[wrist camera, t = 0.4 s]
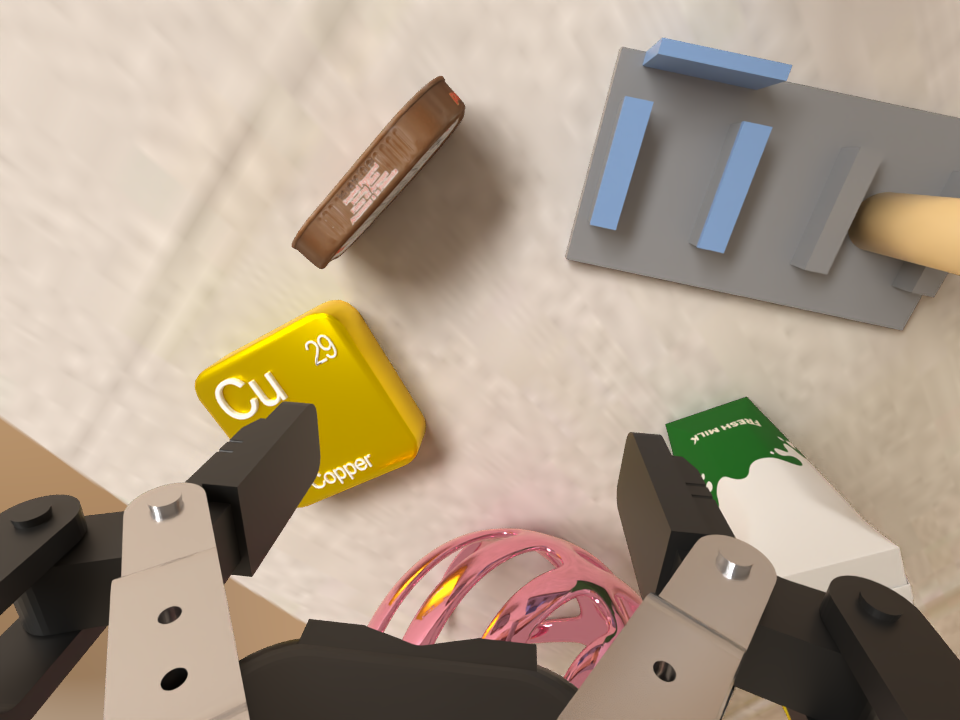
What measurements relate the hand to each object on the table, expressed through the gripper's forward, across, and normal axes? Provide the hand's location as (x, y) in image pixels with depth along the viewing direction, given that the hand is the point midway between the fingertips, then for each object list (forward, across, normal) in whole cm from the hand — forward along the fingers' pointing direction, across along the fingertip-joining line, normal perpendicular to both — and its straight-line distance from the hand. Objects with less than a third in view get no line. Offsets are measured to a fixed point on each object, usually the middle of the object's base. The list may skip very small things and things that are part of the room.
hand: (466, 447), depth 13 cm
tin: (+28, +9, -5) cm, 30 cm away
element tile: (+28, +16, +14) cm, 35 cm away
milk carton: (+28, -20, +15) cm, 38 cm away
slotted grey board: (+28, -18, -5) cm, 34 cm away
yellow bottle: (+27, -26, -4) cm, 38 cm away
